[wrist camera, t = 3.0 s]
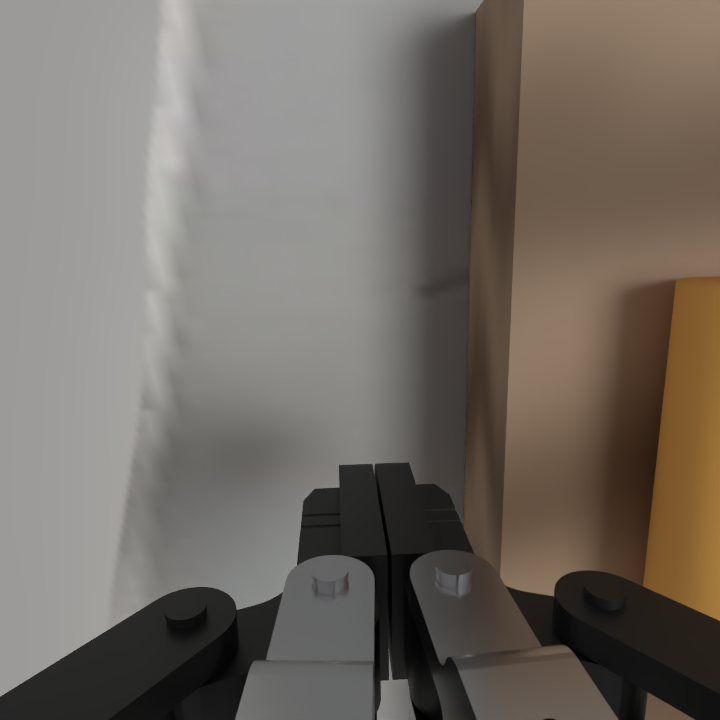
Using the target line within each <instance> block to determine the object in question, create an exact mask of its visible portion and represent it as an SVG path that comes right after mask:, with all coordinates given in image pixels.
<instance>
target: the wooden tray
mask: <svg viewBox="0 0 720 720" xmlns="http://www.w3.org/2000/svg"><path fill="white" fill-rule="evenodd" d="M710 276H720V0H484V1H483V2H482V4H481V5H480V7H479V8H478V10H477V11H476V34H475V76H474V118H473V159H472V201H471V243H470V284H469V326H468V367H467V409H466V451H465V492H464V531H465V533H466V535H467V538H468V540H469V542H470V545H471V547H472V549H473V552H474V554H475V555H477V556H479V557H481V558H483V559H485V560H486V561H488V562H489V563H490V564H491V565H492V566H493V567H494V568H495V569H496V571H497V573H498V574H499V576H500V578H501V579H502V581H503V583H504V584H505V586H508V587H510V588H513V589H517V590H520V591H525V592H531V593H537V594H543V595H549V596H554V588H555V584H556V583H557V581H558V580H559V579H560V578H561V577H562V576H564V575H566V574H568V573H571V572H576V571H584V570H591V571H601V572H606V573H611V574H614V575H617V576H620V577H623V578H625V579H628V580H630V581H632V582H634V583H636V584H639V585H641V586H643V581H644V572H645V562H646V553H647V544H648V534H649V525H650V516H651V507H652V497H653V488H654V479H655V470H656V460H657V451H658V442H659V433H660V423H661V414H662V405H663V396H664V386H665V377H666V368H667V359H668V349H669V340H670V331H671V322H672V312H673V303H674V294H675V285H676V280H679V279H683V278H691V277H710ZM645 720H695V719H693V718H691V717H690V716H688V715H686V714H684V713H683V712H681V711H679V710H677V709H676V708H674V707H672V706H671V705H669V704H667V703H665V702H664V701H662V700H660V699H658V698H657V697H655V696H653V695H652V694H650V693H648V696H647V705H646V713H645Z"/></svg>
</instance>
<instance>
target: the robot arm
mask: <svg viewBox="0 0 720 720" xmlns="http://www.w3.org/2000/svg"><path fill="white" fill-rule="evenodd" d="M339 482H340V488H323V489H314V490H313V491H312V492H311V494H310V495H309V496H308V497H307V498H306V499H305V500H304V502H303V512H302V522H301V531H300V541H299V551H298V561H297V566H296V567H295V568H294V569H293V570H292V571H291V572H290V573H289V575H288V576H287V579H286V582H285V586H284V590H283V592H282V593H281V594H280V595H278V596H276V597H275V598H273V599H271V600H269V601H266V602H264V603H261V604H258V605H255V606H251V607H247V608H243V609H240V610H236V605H235V602H234V600H233V599H232V598H231V597H230V596H229V595H228V594H227V593H225V592H223V591H221V590H218V589H214V588H208V587H194V588H187V589H182V590H178V591H175V592H172V593H170V594H167V595H165V596H163V597H161V598H159V599H157V600H156V601H154V602H153V603H151V604H149V605H148V606H146V607H145V608H143V609H141V610H140V611H138V612H136V613H135V614H133V615H132V616H130V617H128V618H127V619H125V620H124V621H122V622H120V623H119V624H117V625H115V626H114V627H112V628H111V629H109V630H107V631H106V632H104V633H103V634H101V635H99V636H98V637H96V638H94V639H93V640H91V641H90V642H88V643H86V644H85V645H83V646H82V647H80V648H78V649H77V650H75V651H73V652H72V653H70V654H69V655H67V656H65V657H64V658H62V659H61V660H59V661H57V662H56V663H54V664H53V665H51V666H49V667H48V668H46V669H44V670H43V671H41V672H40V673H38V674H36V675H35V676H33V677H32V678H30V679H28V680H27V681H25V682H24V683H22V684H20V685H19V686H17V687H15V688H14V689H12V690H11V691H9V692H7V693H6V694H4V695H2V696H1V697H0V720H377V711H378V708H379V706H380V701H381V686H380V681H382V680H389V655H390V662H391V670H392V677H393V680H396V679H408V684H409V690H410V720H645V713H646V705H647V696H648V693H650V694H652V695H653V696H655V697H657V698H658V699H660V700H662V701H664V702H665V703H667V704H669V705H671V706H672V707H674V708H676V709H677V710H679V711H681V712H683V713H684V714H686V715H688V716H690V717H691V718H693V719H695V720H720V621H719V620H717V619H715V618H712V617H710V616H708V615H706V614H703V613H701V612H699V611H697V610H695V609H692V608H690V607H688V606H686V605H683V604H681V603H679V602H677V601H674V600H672V599H670V598H668V597H665V596H663V595H661V594H659V593H657V592H654V591H652V590H650V589H648V588H645V587H643V586H641V585H639V584H636V583H634V582H632V581H630V580H628V579H625V578H623V577H620V576H617V575H614V574H611V573H606V572H601V571H591V570H584V571H576V572H571V573H568V574H566V575H564V576H562V577H561V578H560V579H559V580H558V581H557V583H556V584H555V588H554V596H549V595H543V594H537V593H531V592H525V591H520V590H517V589H513V588H510V587H508V586H505V584H504V583H503V581H502V579H501V578H500V576H499V574H498V573H497V571H496V569H495V568H494V567H493V566H492V565H491V564H490V563H489V562H488V561H486V560H485V559H483V558H481V557H479V556H477V555H475V554H474V552H473V549H472V547H471V545H470V542H469V540H468V538H467V535H466V533H465V531H464V528H463V526H462V524H461V522H460V519H459V516H458V514H457V512H456V511H455V507H454V505H453V502H452V500H451V498H450V495H449V494H447V493H446V492H445V491H443V490H442V489H441V488H439V487H438V486H437V485H435V484H420V485H416V484H415V481H414V477H413V474H412V471H411V468H410V465H409V463H382V464H375V476H374V470H373V465H372V464H358V465H339ZM388 647H389V653H388Z"/></svg>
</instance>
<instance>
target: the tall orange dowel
mask: <svg viewBox="0 0 720 720" xmlns="http://www.w3.org/2000/svg"><path fill="white" fill-rule="evenodd" d="M643 587H645V588H648V589H650V590H652V591H654V592H657V593H659V594H661V595H663V596H665V597H668V598H670V599H672V600H674V601H677V602H679V603H681V604H683V605H686V606H688V607H690V608H692V609H695V610H697V611H699V612H701V613H703V614H706V615H708V616H710V617H712V618H715V619H717V620H719V621H720V276H710V277H691V278H683V279H679V280H676V285H675V294H674V303H673V312H672V322H671V331H670V340H669V349H668V359H667V368H666V377H665V386H664V396H663V405H662V414H661V423H660V433H659V442H658V451H657V460H656V470H655V479H654V488H653V497H652V507H651V516H650V525H649V534H648V544H647V553H646V562H645V572H644V581H643Z"/></svg>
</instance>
